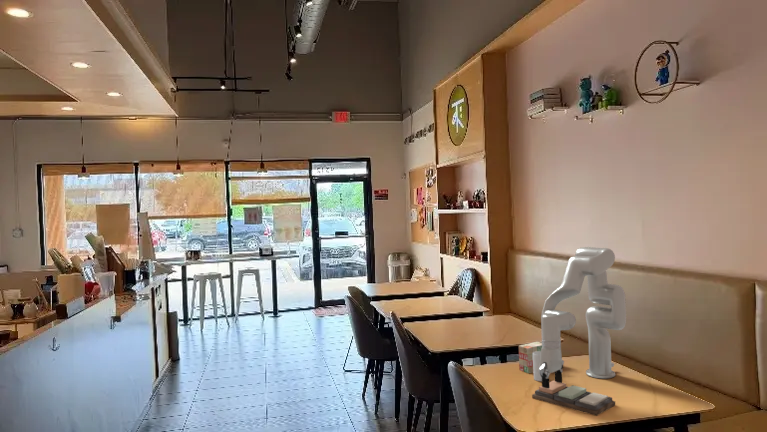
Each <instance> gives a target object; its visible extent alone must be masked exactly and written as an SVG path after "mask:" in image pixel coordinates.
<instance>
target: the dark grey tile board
mask: <svg viewBox="0 0 767 432" xmlns="http://www.w3.org/2000/svg"><path fill="white" fill-rule="evenodd" d="M568 387H569V386H568V385H566V388H568ZM566 388H564V389H566ZM564 389H562V390H564ZM562 390H560V391H562ZM560 391H558V392H556V393H554V394H549V393H545V392H542V391H539V388H537V389H536V390H535V391H534V393H532V395H531V397H532V399H535V400H538V401H541V402H545V403H548V404H552V405H557V406H559V407H563V408H566V409H567V408H568V409H571V410H574V411H578V412H582V413H584V414H585V413H586V414H589V415H591V416H596V417H597V416H599V415H601V414H602V413H604V412H606V411H608V410H610V409H611V408H612V407H615V406H616V400H613V397H611V396H608V399H606V400H604V401H602V402H601V403H599V404H597V405H595V406H593V405H590V404H586V403H582V402H580V399H582V398H584V397H586V396H588V395H589V394H591V393H592V392H590V391H587V390H586V393H584V394H582V395H580V396H578V397H576V398H575V399H573V400H572V399H568V398H565V397H561V396H559V392H560Z"/></svg>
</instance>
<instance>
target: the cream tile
mask: <svg viewBox="0 0 767 432" xmlns="http://www.w3.org/2000/svg"><path fill="white" fill-rule="evenodd" d="M608 397H609V396H608V395H606V394H602V393H598V392H591V394H589V395H588V396H586V397H584V398H582V399H580V402H582V403H586V404H590V405H593V406H595V405H597V404H599V403H601V402H602V401H604V400H606V399H608Z"/></svg>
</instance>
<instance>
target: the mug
mask: <svg viewBox="0 0 767 432" xmlns="http://www.w3.org/2000/svg"><path fill="white" fill-rule="evenodd" d="M540 355H541V351H536V352H533V372H532V374H533V380H534V381H537V382H542V378H541V375H540V372H539V368H540ZM546 371H548V370H546ZM545 374H546V375H547V373H545Z"/></svg>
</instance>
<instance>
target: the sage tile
mask: <svg viewBox="0 0 767 432" xmlns="http://www.w3.org/2000/svg"><path fill="white" fill-rule="evenodd" d="M567 387H568V388H566V389H564V390H562V391H560V392H559V396H561V397H565V398H568V399H572V400H573V399H575V398H576V397H578V396H580V395H582V394H584V393H586V391H587V388H586V387H582V386H577V385H570V386H567Z"/></svg>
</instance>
